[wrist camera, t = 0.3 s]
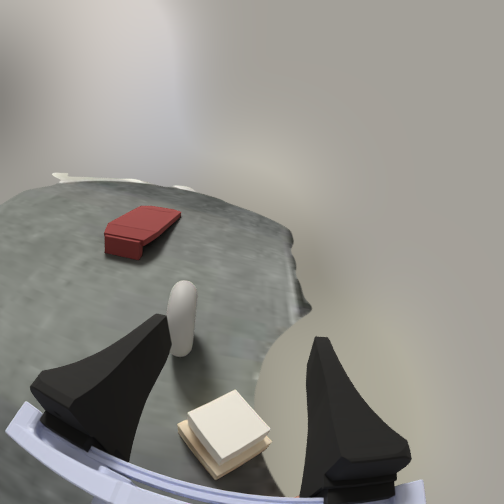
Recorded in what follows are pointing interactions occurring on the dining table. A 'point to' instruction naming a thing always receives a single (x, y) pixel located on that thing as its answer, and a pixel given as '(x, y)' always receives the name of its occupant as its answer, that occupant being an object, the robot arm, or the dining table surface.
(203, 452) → the birch base block
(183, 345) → the donut
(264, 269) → the dining table surface
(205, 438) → the cream top block
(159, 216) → the red elongated bent piece
